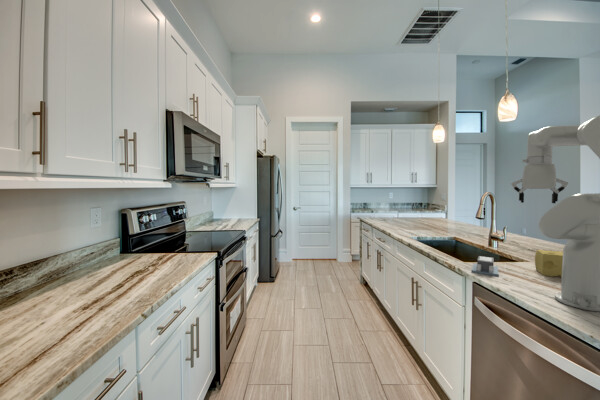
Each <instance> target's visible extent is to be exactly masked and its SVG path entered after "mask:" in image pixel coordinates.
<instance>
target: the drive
mask: <svg viewBox="0 0 600 400" xmlns="http://www.w3.org/2000/svg"><path fill="white" fill-rule="evenodd" d="M494 261H495V260H494V257H491V256H490V257H489V256H483V255H479V256H478V257H477V262H476V263H477V264H481V271H488V272H489V266H494V264H495V263H494Z"/></svg>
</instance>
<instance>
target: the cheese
mask: <svg viewBox="0 0 600 400" xmlns="http://www.w3.org/2000/svg"><path fill="white" fill-rule="evenodd" d="M562 261H563V250H562V251H561V250H560V251H557V250H556V251H555V250H543V249H536V251H535V256H534V266H535V270H536V271H537V272H539V273H540V274H541V275H542V276H547V277H560V278H562Z"/></svg>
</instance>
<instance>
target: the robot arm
mask: <svg viewBox="0 0 600 400" xmlns="http://www.w3.org/2000/svg"><path fill="white" fill-rule="evenodd" d="M575 146H578V147H579V146H587V147H588V148H590V150H591V151H592V152H593V153H594V154H595V155H596V156H597V157H598V159H600V115H597V116H595V117H592V118H591V119H589V120H586V121H585V122H583V123H582V124H580V125H578V124H577V125H551V126H545V127H543V128H540V129H539V130H535V131H531V132H529V134H528V136H527V151H526V158H525V159H522V160H521V161H522V162H521V163H525V165H524V167H523V172H522V178H520V179H518V180H515V181H514V182H511V183H510V185H511V186H512V188H513V189H514V190H515V191H516V192H517V193H518V194H519V195H518V197H519V198H518V201H520V203H521V204H523V203H524V202H525V193H524V192H525V191H526V190H528V189H530V190H532V189H535V190H537V189H539V190H543V189H545V190H547V189H548V190H551V191H552V193H551V204H555V205H554V206H553V207H552V208H550V209H549V210H547V211H546V212H544V214H543V215H541V217H540V219H539V222H538V228H539V231H540V232H541V234H542V235H543V236H545V237H547V238H550V239H552V240H553V239H555V240H568V241H567V242H566V243H565V245H564V246H563V250H562V251H563V261H562V277H561V286H560V287H561V289H560V290H561V291H560V292H557V293H555V294H554V299H555V300H556V301H558V302H560V303H562V304H565V305H567V306H569V307H573V308H577V309H580V310H585V311H591V312H598V313H599V312H600V193H599V192H598V193H597V192H596V193H592V192H591V193H577V194H576V193H575V194H572V195H569V196H567V197H565V198H564V199H562V200H560V202H558V201H559V199H558V198H559V193H561V192H562V191H564V190H565V189H566V187H567V186H568V184H569V182H568V181H565V180H563V179H560V178H558V177H557V172H556V165H555V163H553V160H552V159H553V147H575ZM557 183H559V184H561V185H560V187H558V188H556V186H557ZM517 184H521V187H522V188H520V187H518V186H517ZM556 202H558V203H556Z"/></svg>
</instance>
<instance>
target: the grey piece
mask: <svg viewBox="0 0 600 400" xmlns="http://www.w3.org/2000/svg"><path fill="white" fill-rule="evenodd" d="M472 263H473V264H472V267H471V273H474V274H481V275H486V276H492V277H493V276H494V277H499V275H500V274H499V266H497V265H493V266H489V272H488V271H481V264H477V262H475V263H474V262H472Z"/></svg>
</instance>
